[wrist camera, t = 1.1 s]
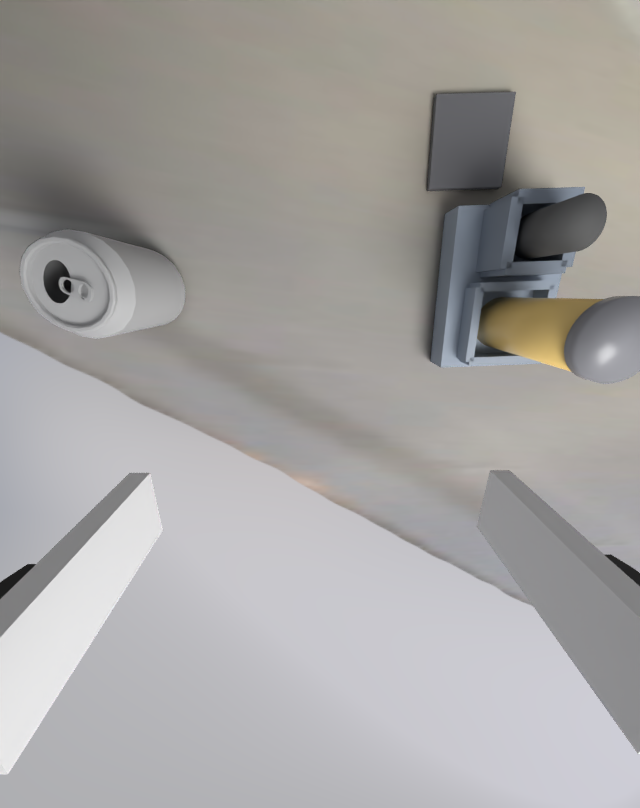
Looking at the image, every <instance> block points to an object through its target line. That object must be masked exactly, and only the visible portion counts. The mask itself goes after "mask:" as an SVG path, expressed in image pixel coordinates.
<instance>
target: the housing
mask: <svg viewBox="0 0 640 808" xmlns="http://www.w3.org/2000/svg"><path fill="white" fill-rule="evenodd" d="M584 189H585V187H568V188H536V189H519V190H517V191H515V192H513V193H511V194H509V195H507V196H505V197H503V198H501V199H499V200H497V201H495V202H493V203H491V204H490V205H467V206H458V207H456V208H454V209H452V210H451V211H449V212H447V213H446V214H445V218H444V228H443V238H442V248H441V259H440V269H439V279H438V289H437V299H436V309H435V320H434V330H433V340H432V350H431V360H430V361H431V362H432V363H434V364H436V365H437V366H439V367H463V366H489V365H514V364H540V363H541V362H538V361H535V360H532V359H528V358H525V357H522V356H518V355H515V354H512V353H508V352H505V351H502V350H498V349H495V348H492V347H489V346H485V345H483V344H482V343H481V342H480V341H479V340H478V339H477V334H478V328H479V321H480V314H481V308H482V307H483V306H484V305H485V304H486V303H488V302H489V301H491V300H493V299H495V298H499V297H521V298H556V296H557V292H558V288H559V283H560V279H561V275H562V273H565V270H566V267H572V265H573V261H574V257H575V253H576V252H570V253H564V254H557V255H551V256H545V257H538V258H532V259H522V258H519V257H518V256H516V255H515V254H514V253H515V247H516V242H517V236H518V230H519V225H520V219H521V218H522V217H523V216H525V215H527V214H529V213H531V212H534V211H537V210H540V209H542V208H545V207H548V206H550V205H553V204H556V203H559V202H561V201H564V200H567V199H570V198H572V197H575V196H578V195H581V194H584Z"/></svg>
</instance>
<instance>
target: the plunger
mask: <svg viewBox="0 0 640 808" xmlns="http://www.w3.org/2000/svg"><path fill="white" fill-rule="evenodd" d="M606 217H607V211H606V206H605V203H604V201H603V200H602V199H601V198H600V197H599V196H597V195H595V194H592V193H585V194H581V195H578V196H575V197H572V198H570V199H567V200H564V201H561V202H559V203H556V204H553V205H550V206H548V207H545V208H542V209H540V210H537V211H534V212H531V213H529V214H527V215H525V216H523V217H522V218H521V219H520V225H519V230H518V236H517V242H516V247H515V253H514V254H515V255H516V256H518V257H519V258H522V259H532V258H538V257H545V256H551V255H557V254H564V253H570V252H576V251H580V250H583V249H585V248H587V247H588V246H590V245H591V244H592V243H594V242H595V241H596V239H597V238H598V237H599V235H600V234H601V232H602V230H603V228H604V226H605V223H606Z"/></svg>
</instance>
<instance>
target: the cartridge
mask: <svg viewBox="0 0 640 808" xmlns="http://www.w3.org/2000/svg"><path fill="white" fill-rule="evenodd" d="M477 339H478V340H479V341H480V342H481V343H482V344H483V345H485V346H489V347H492V348H495V349H498V350H502V351H505V352H508V353H512V354H515V355H518V356H522V357H525V358H528V359H532V360H535V361H538V362H541V363H545V364H548V365H551V366H555V367H558V368H561V369H565V370H568V371H571V372H572V373H574V374H575V375H577V376H579V377H581V378H584V379H587V380H590V381H593V382H597V383H602V384H610V383H616V382H620V381H623V380H625V379H628V378H630V377H631V376H633V375H635V374H636V373H638V372H639V371H640V296H616V297H610V298H607V299H568V298H521V297H499V298H495V299H493V300H491V301H489V302H488V303H486V304H485V305H484V306H483V307H482V308H481V314H480V321H479V328H478V334H477Z"/></svg>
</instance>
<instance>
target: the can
mask: <svg viewBox="0 0 640 808" xmlns="http://www.w3.org/2000/svg"><path fill="white" fill-rule="evenodd" d="M19 272H20V278H21V283H22V288H23V290H24V292H25V294H26V296H27V298H28V300H29V302H30V303H31V304H32V306H33V307H34V308H35V309H36V310H37V312H38V313H39V314H40V315H41V316H42V317H44V318H45V319H46V320H48V321H49V322H50V323H52V324H53V325H55V326H57V327H60V328H62V329H64V330H67V331H70V332H72V333H75V334H77V335H79V336H82V337H89V338H96V339H98V338H104V337H109V336H114V335H119V334H124V333H128V332H133V331H137V330H142V329H147V328H151V327H156V326H161V325H165V324H168V323H169V322H171V321H173V320H175V319H176V318H177V316H178V315H179V314H180V313H181V311H182V309H183V306H184V303H185V286H184V283H183V280H182V276H181V275H180V273H179V272H178V270H177V268H176V267H175V265H174V264H173V263H172V262H170V261H169V260H168V259H167V258H166V257H165V256H163V255H161V254H159V253H157V252H155V251H153V250H150V249H147V248H143V247H139V246H135V245H132V244H128V243H124V242H121V241H117V240H113V239H110V238H106V237H102V236H99V235H95V234H91V233H87V232H83V231H77V230H71V229H65V230H60V231H55V232H51V233H49V234H48V235H47V236H45V237H43V238H39V239H38V240H36V241H35V242H33V243H32V244H30V245H29V246H28V247H27V249H26V251H25V252H24V254H23V256H22V258H21V264H20V271H19Z"/></svg>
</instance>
